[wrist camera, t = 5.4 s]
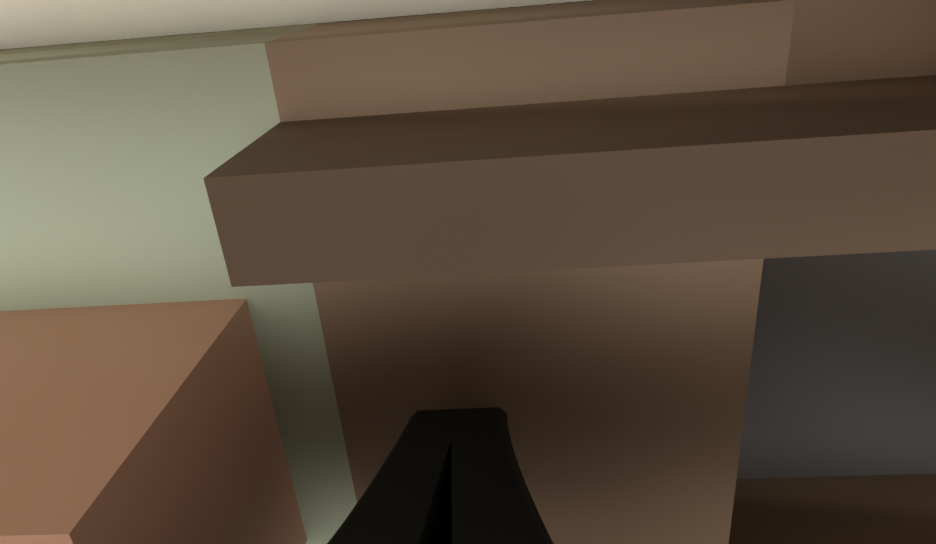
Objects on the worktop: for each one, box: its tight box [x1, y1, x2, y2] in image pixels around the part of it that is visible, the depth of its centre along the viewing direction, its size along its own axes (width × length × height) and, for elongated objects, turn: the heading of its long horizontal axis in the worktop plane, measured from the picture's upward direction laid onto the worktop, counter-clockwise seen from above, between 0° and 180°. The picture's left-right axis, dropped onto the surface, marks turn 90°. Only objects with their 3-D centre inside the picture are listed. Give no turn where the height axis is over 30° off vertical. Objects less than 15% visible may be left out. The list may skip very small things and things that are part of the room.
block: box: [0, 299, 307, 544], centre depth 9 cm, size 5×5×4 cm
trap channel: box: [0, 0, 936, 544], centre depth 11 cm, size 12×22×6 cm, turn 95°
